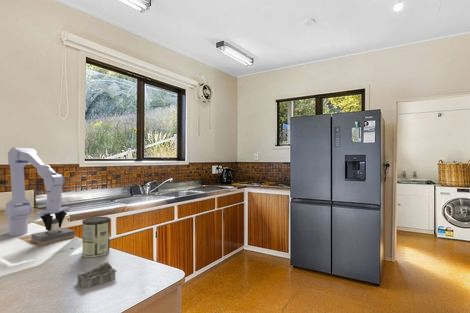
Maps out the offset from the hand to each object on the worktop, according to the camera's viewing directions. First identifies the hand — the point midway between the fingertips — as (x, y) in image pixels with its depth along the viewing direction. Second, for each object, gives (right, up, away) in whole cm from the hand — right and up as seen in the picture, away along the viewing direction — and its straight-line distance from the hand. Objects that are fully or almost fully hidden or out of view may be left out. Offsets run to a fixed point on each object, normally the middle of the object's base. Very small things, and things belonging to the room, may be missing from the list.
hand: (53, 228), depth 127 cm
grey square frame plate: (0, -5, 0) cm, 5 cm away
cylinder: (0, -2, 0) cm, 2 cm away
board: (-4, -6, +2) cm, 7 cm away
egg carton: (+41, -6, -40) cm, 58 cm away
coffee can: (+28, -6, -15) cm, 33 cm away
